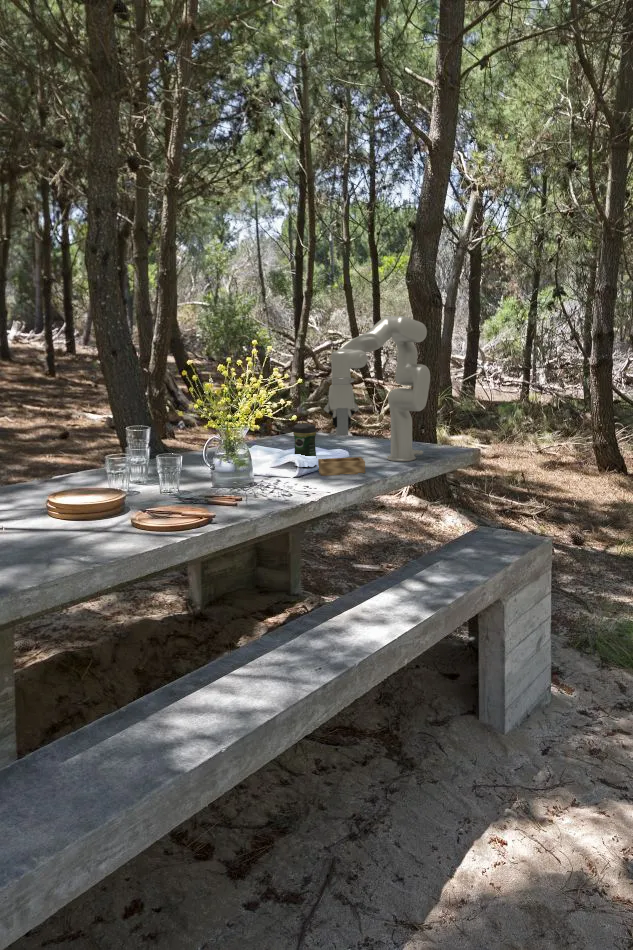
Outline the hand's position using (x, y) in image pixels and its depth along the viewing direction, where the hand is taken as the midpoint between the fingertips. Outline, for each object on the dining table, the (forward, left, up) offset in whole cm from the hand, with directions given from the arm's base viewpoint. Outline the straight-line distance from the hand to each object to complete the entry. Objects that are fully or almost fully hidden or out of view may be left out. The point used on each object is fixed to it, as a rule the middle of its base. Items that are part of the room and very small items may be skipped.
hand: (341, 426), depth 331 cm
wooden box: (0, 0, -19) cm, 19 cm away
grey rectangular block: (0, 0, -3) cm, 3 cm away
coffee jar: (+13, -17, -19) cm, 29 cm away
